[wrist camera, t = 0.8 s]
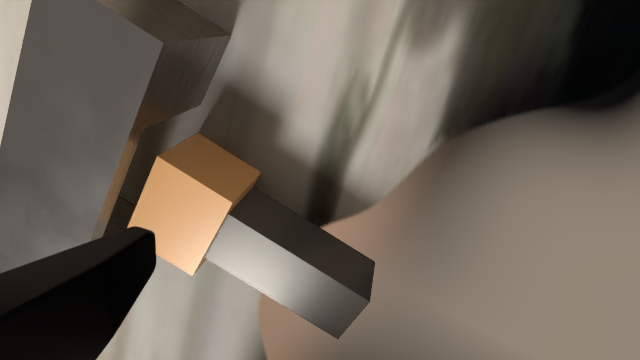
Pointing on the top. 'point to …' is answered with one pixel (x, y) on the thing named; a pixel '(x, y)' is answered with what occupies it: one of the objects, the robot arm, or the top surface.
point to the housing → (92, 114)
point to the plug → (249, 235)
